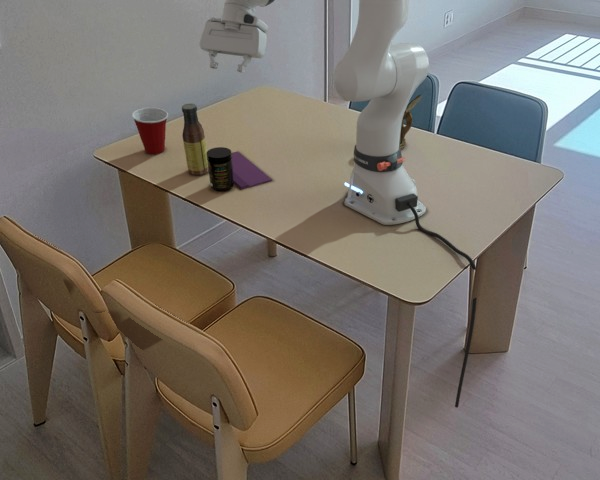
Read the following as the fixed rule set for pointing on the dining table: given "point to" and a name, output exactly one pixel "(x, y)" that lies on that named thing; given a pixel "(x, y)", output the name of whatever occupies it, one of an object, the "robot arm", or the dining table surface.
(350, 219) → the dining table surface
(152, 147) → the plastic cup
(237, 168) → the purple flat rectangular panel
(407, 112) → the wooden mug
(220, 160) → the supplement container
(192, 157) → the sauce bottle
